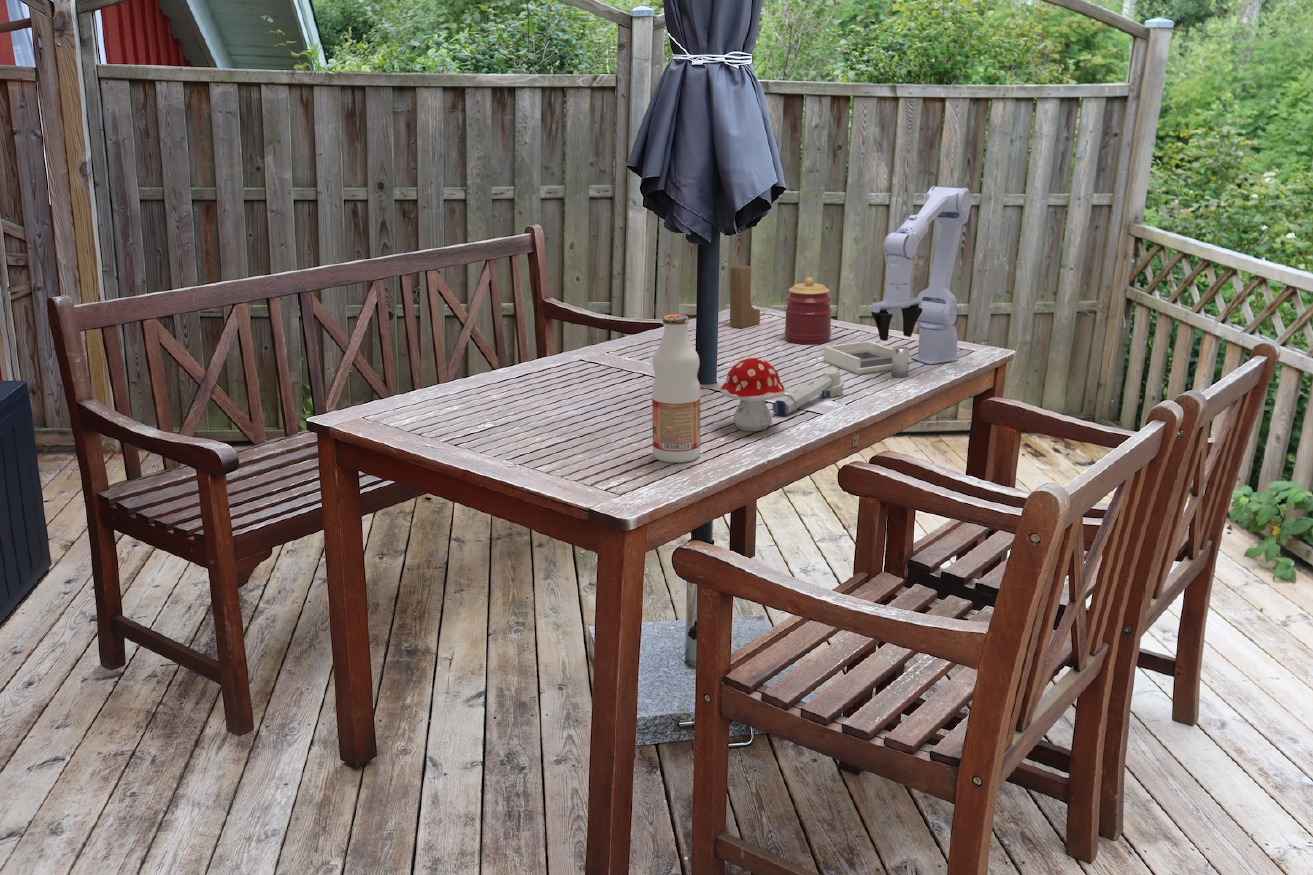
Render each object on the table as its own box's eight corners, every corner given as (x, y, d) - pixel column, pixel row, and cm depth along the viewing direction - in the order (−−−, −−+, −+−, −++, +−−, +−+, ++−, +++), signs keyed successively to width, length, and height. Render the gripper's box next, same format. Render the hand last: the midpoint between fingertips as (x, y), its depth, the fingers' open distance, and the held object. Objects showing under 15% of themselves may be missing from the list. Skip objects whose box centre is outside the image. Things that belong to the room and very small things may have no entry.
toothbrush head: (769, 398, 258) (828, 361, 275) (770, 425, 261) (829, 387, 278) (789, 401, 255) (847, 364, 272) (790, 429, 258) (848, 390, 275)
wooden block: (748, 322, 353) (749, 262, 348) (760, 324, 350) (761, 264, 345) (729, 327, 347) (729, 266, 342) (741, 329, 344) (741, 267, 339)
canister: (786, 345, 324) (787, 281, 318) (782, 334, 336) (784, 273, 331) (833, 344, 323) (835, 281, 318) (828, 334, 336) (830, 273, 330)
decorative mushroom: (764, 440, 241) (765, 369, 236) (707, 430, 248) (707, 361, 244) (796, 424, 251) (798, 356, 247) (741, 414, 259) (741, 348, 255)
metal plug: (901, 373, 293) (902, 345, 290) (911, 376, 289) (912, 348, 287) (888, 374, 291) (889, 347, 289) (897, 378, 287) (899, 350, 285)
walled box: (868, 355, 310) (868, 340, 309) (905, 368, 297) (906, 353, 295) (823, 361, 305) (823, 346, 303) (859, 375, 291) (859, 359, 290)
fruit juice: (675, 467, 225) (674, 323, 217) (643, 456, 232) (640, 316, 224) (710, 456, 232) (710, 316, 223) (677, 445, 238) (676, 309, 230)
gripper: (909, 277, 290) (907, 331, 294) (864, 283, 283) (861, 338, 287) (929, 281, 284) (926, 336, 288) (883, 287, 277) (880, 344, 282)
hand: (895, 338), depth 288 cm, fingers open, 7 cm apart
